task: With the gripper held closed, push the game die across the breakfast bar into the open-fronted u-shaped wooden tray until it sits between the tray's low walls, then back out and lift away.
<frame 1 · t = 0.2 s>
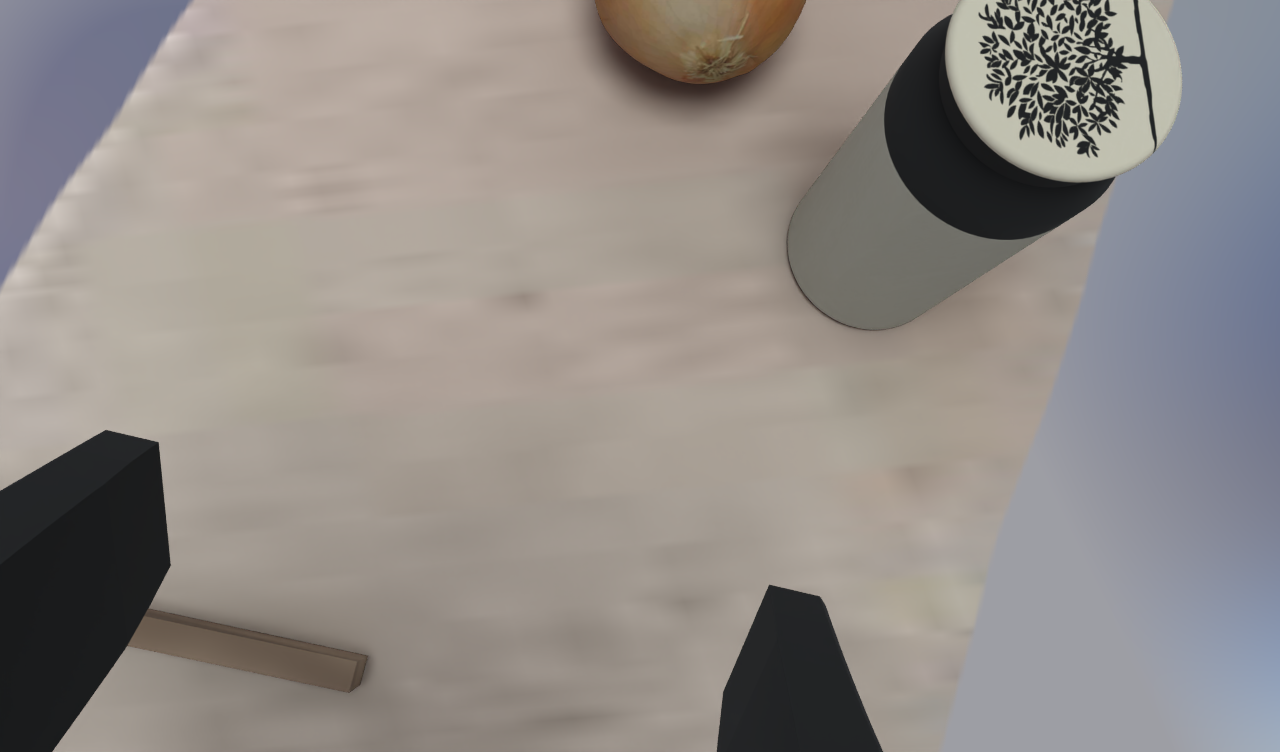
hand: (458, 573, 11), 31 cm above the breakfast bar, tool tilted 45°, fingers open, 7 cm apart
onion: (682, 32, 48), on the breakfast bar
travel mug: (864, 252, 47), on the breakfast bar
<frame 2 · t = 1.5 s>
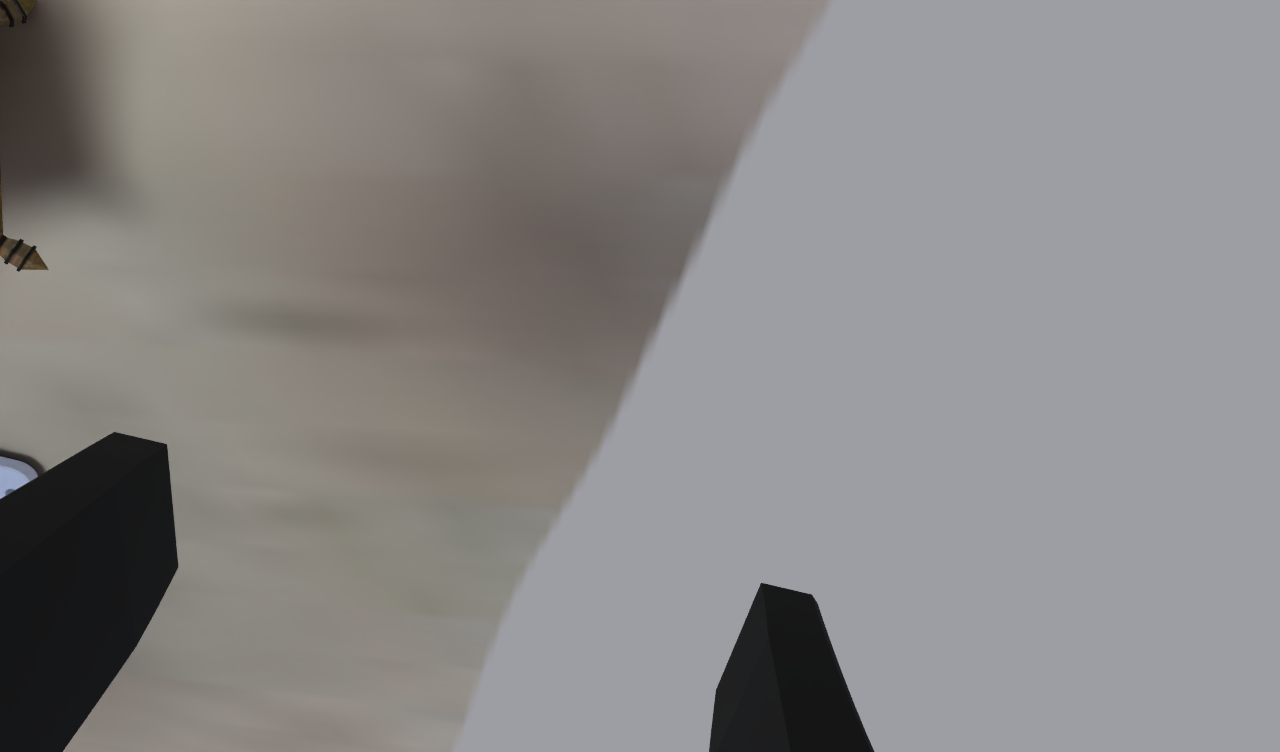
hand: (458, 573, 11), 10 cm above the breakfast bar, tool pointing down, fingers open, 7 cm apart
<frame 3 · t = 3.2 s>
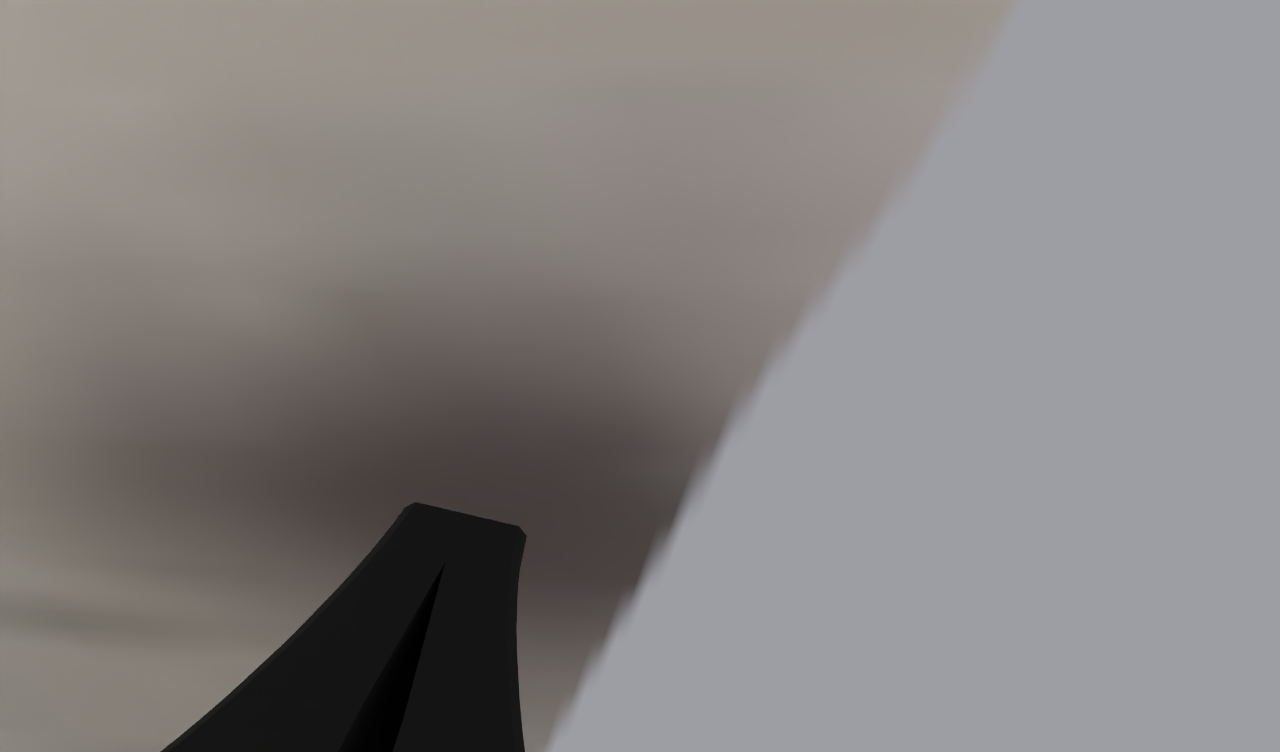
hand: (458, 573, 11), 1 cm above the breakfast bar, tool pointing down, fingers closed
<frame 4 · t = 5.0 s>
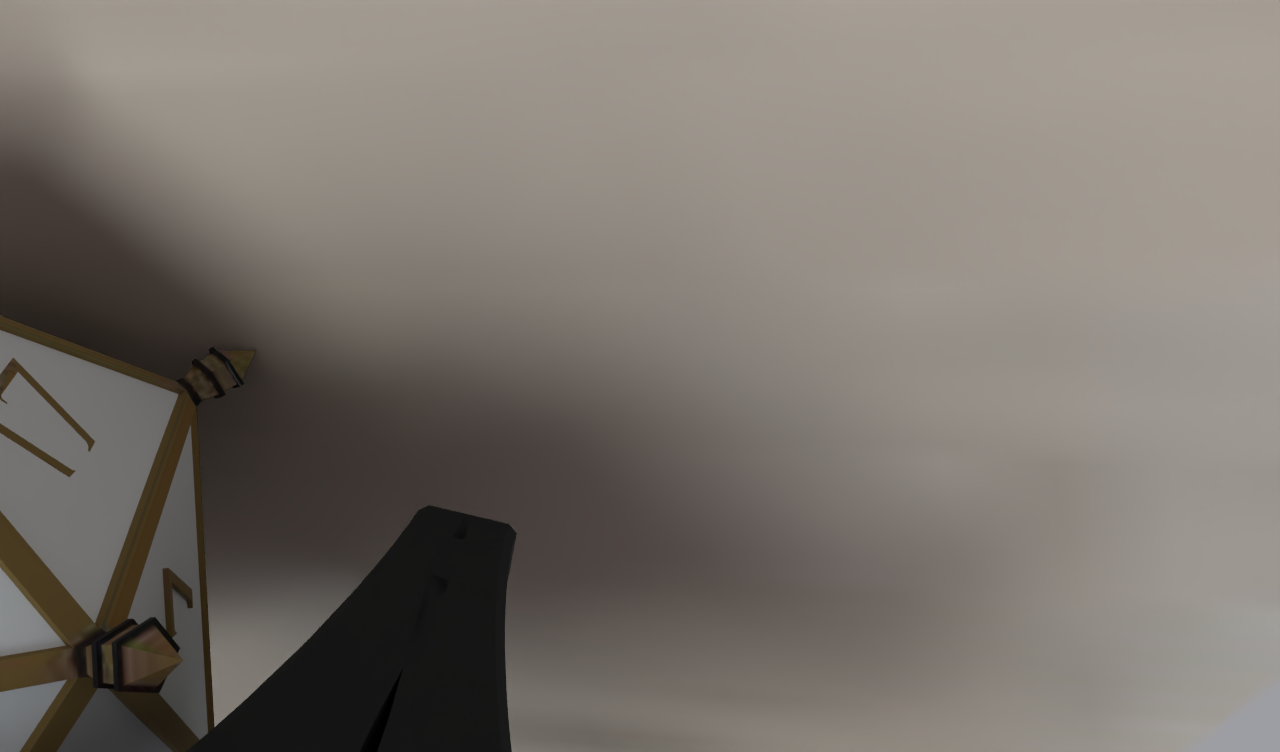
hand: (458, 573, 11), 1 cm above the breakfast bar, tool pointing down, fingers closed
game die: (64, 387, 13), on the breakfast bar, touching gripper
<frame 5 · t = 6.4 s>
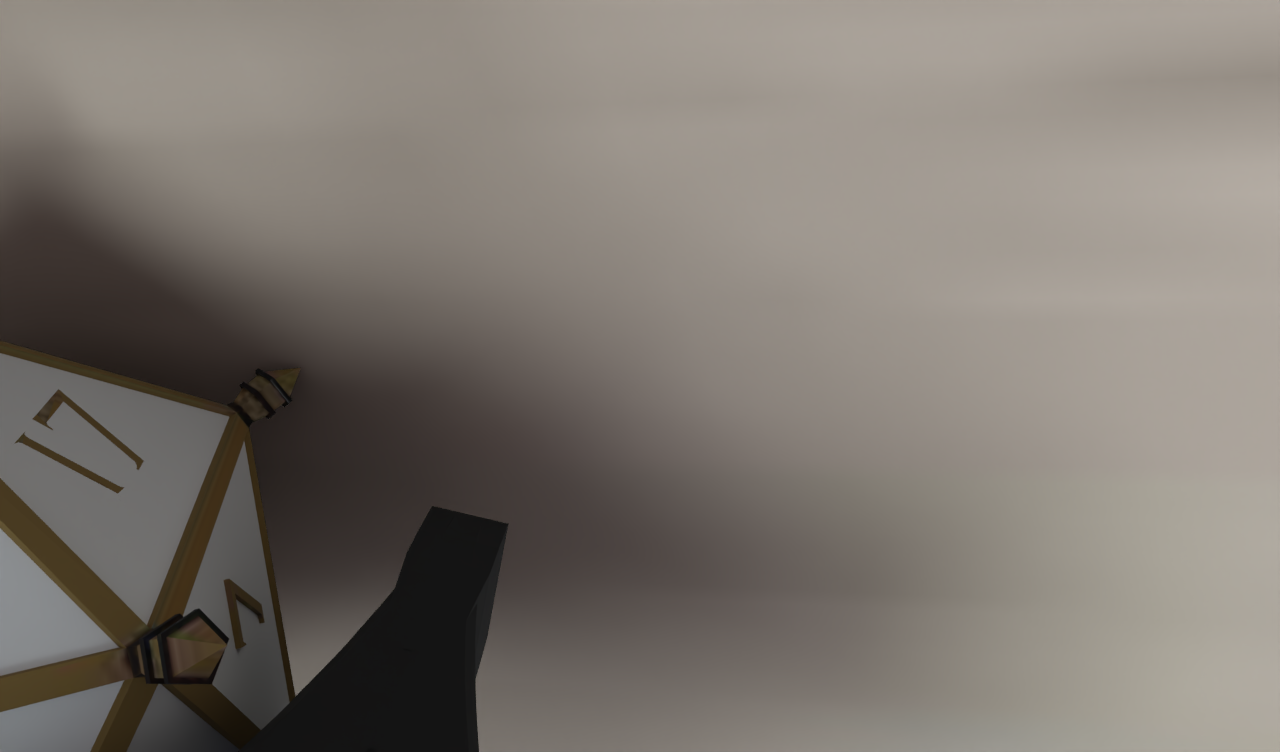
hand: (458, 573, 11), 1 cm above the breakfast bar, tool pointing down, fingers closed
game die: (132, 434, 13), on the breakfast bar, touching gripper
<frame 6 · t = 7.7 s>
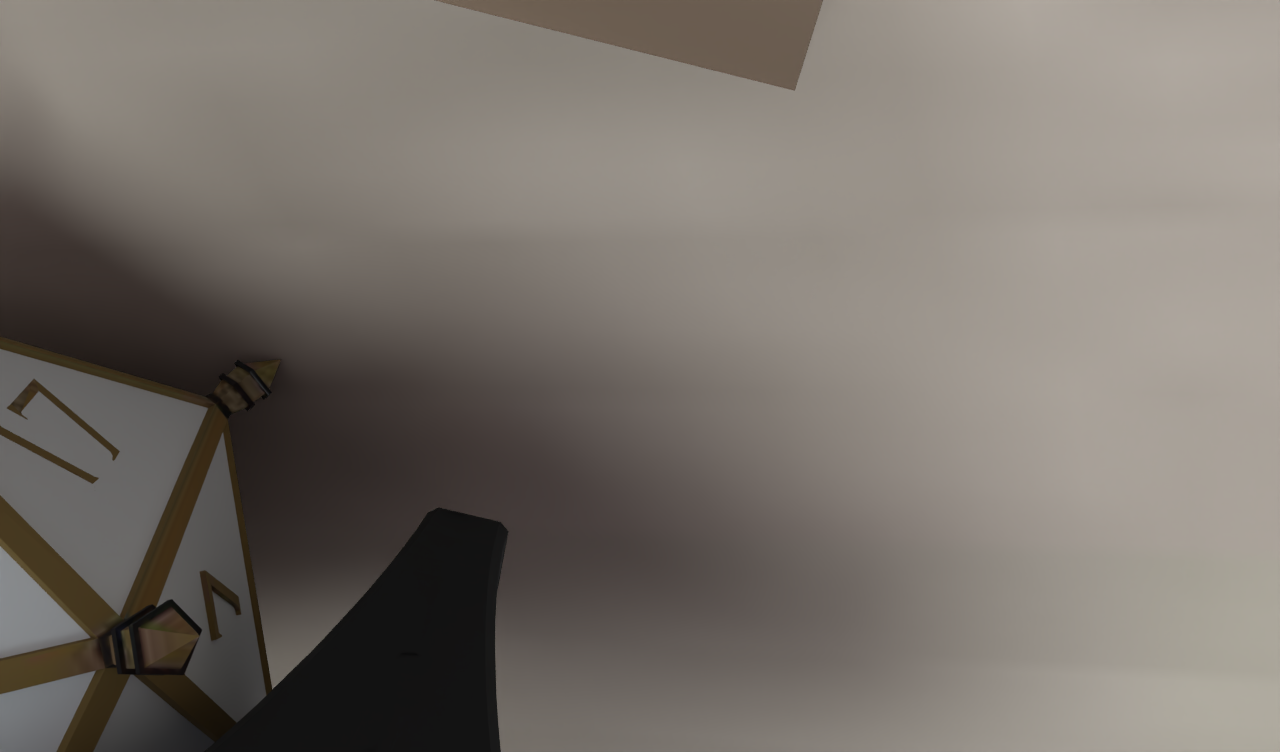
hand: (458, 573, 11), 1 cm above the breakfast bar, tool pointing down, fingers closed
u-shaped wooden tray: (27, 388, 12), on the breakfast bar
game die: (111, 425, 13), on the breakfast bar, touching gripper
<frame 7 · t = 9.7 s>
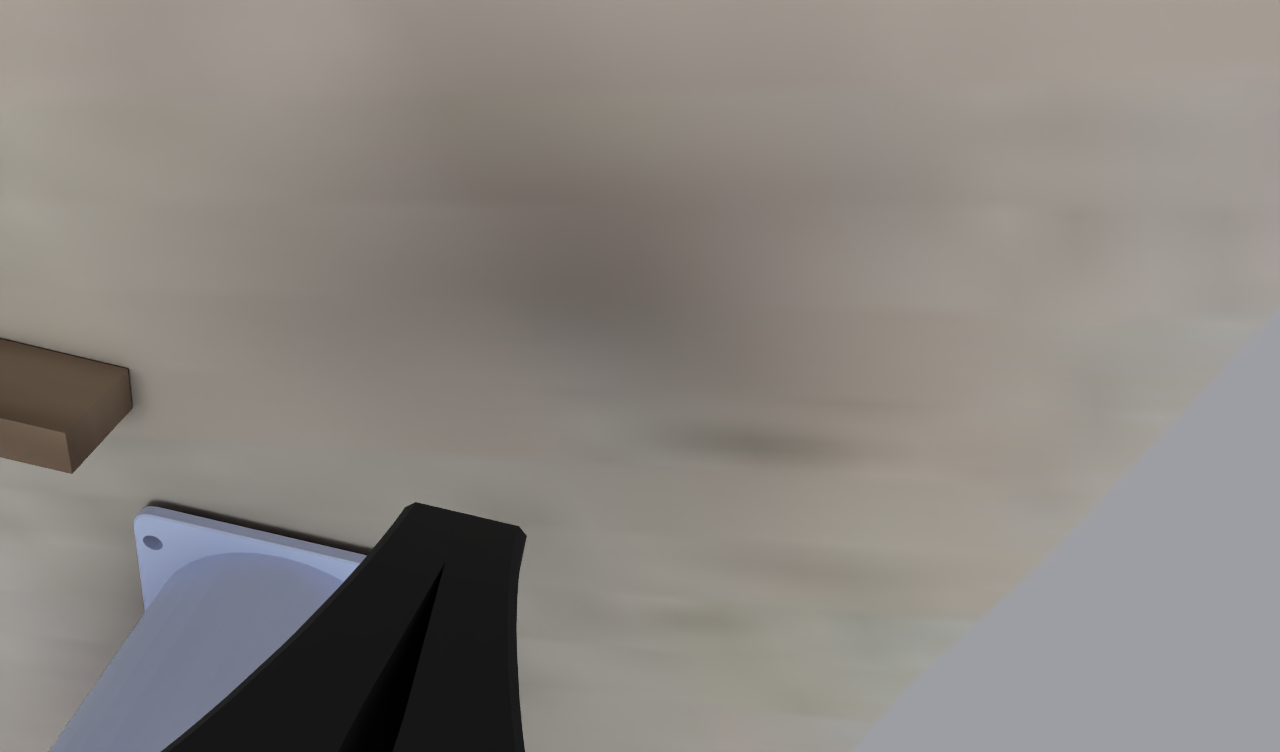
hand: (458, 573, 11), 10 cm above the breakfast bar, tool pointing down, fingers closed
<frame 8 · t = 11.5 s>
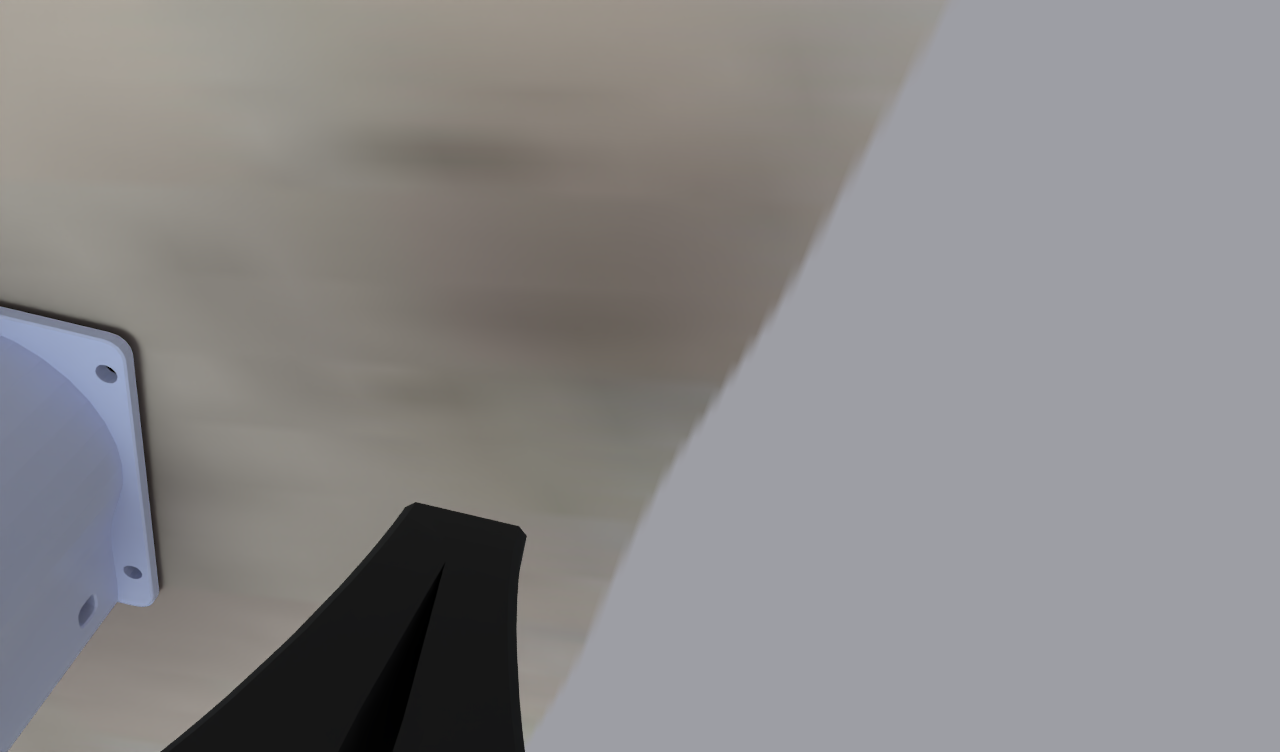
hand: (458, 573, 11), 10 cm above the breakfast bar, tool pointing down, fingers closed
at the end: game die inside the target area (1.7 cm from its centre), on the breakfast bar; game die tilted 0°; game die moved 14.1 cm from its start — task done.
